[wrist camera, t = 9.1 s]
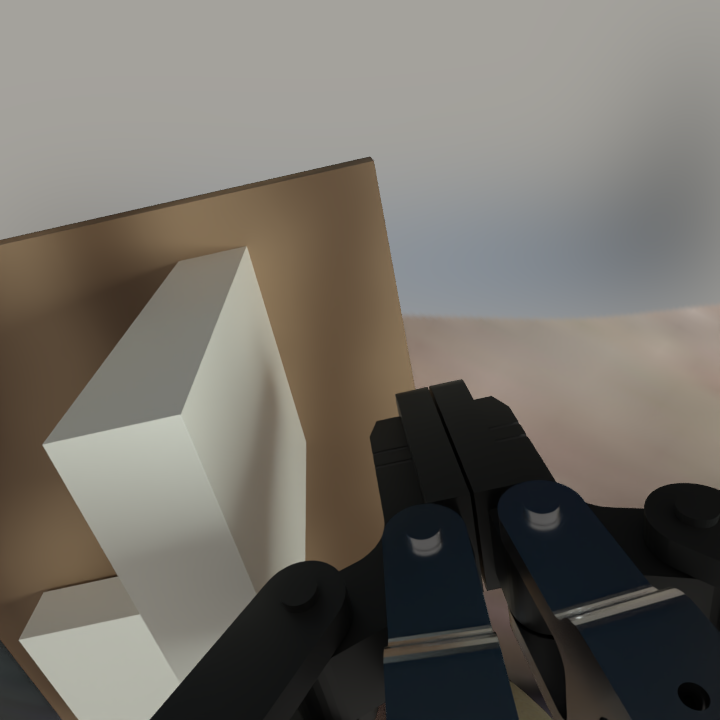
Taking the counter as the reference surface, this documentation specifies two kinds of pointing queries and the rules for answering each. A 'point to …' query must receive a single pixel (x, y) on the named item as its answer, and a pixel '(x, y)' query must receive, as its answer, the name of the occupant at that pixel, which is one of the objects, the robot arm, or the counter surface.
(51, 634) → the tile far
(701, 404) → the counter surface
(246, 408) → the tile near
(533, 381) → the counter surface
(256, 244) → the board
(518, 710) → the flower pot
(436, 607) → the robot arm
